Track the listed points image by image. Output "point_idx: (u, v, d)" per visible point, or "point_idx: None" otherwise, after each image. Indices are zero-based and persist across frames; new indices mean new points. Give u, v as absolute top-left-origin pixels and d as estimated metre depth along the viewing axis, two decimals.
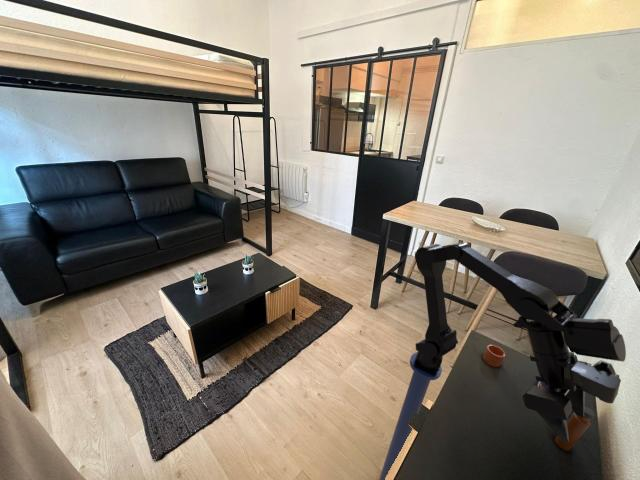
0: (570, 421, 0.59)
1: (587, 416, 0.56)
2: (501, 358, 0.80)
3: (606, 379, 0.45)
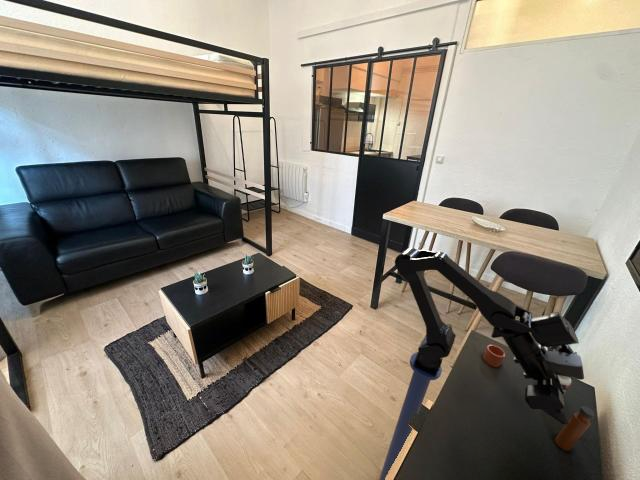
0: (570, 421, 0.59)
1: (587, 416, 0.56)
2: (501, 358, 0.80)
3: (572, 359, 0.56)
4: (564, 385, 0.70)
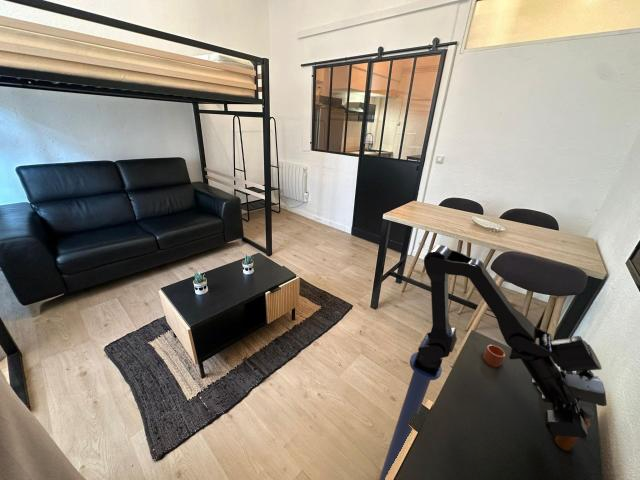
0: None
1: (587, 416, 0.56)
2: (501, 358, 0.80)
3: (594, 385, 0.55)
4: None
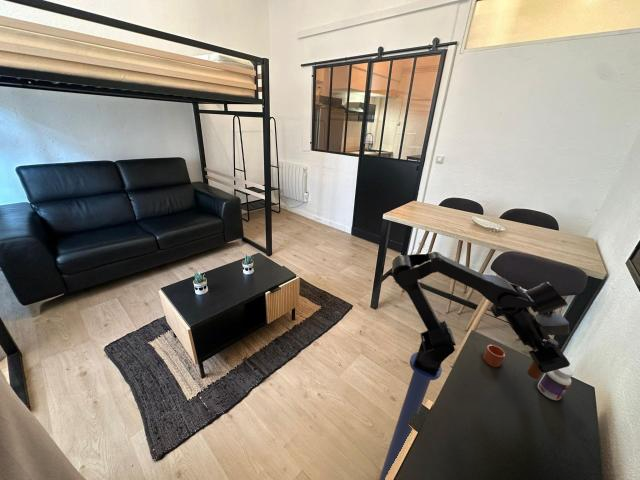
0: None
1: None
2: (501, 358, 0.80)
3: (558, 319, 0.64)
4: (564, 385, 0.70)
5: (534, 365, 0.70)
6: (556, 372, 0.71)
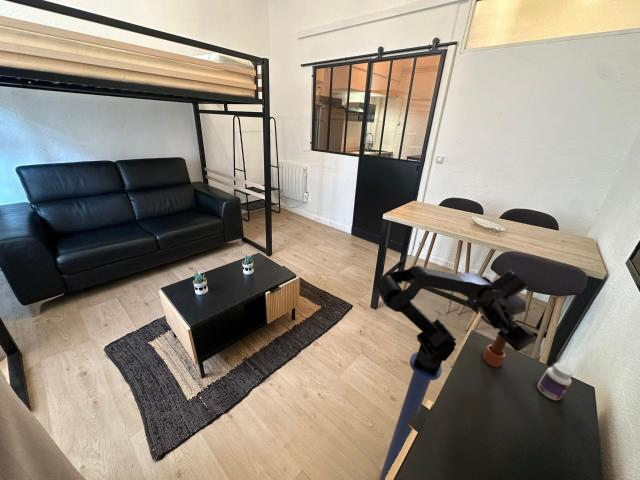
0: None
1: None
2: (501, 358, 0.80)
3: (516, 299, 0.73)
4: (564, 385, 0.70)
5: (498, 341, 0.80)
6: (556, 372, 0.71)
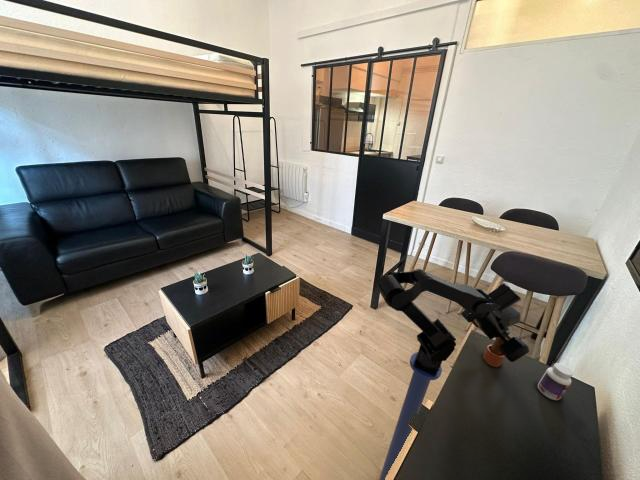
0: (497, 342, 0.80)
1: (508, 334, 0.78)
2: (501, 358, 0.80)
3: (511, 311, 0.75)
4: (564, 385, 0.70)
5: (493, 352, 0.81)
6: (556, 372, 0.71)
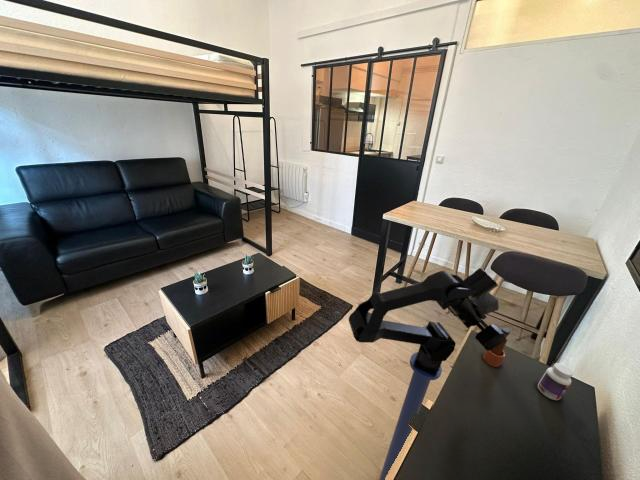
0: None
1: (508, 334, 0.78)
2: (501, 358, 0.80)
3: (489, 298, 0.71)
4: (564, 385, 0.70)
5: (493, 352, 0.81)
6: (556, 372, 0.71)
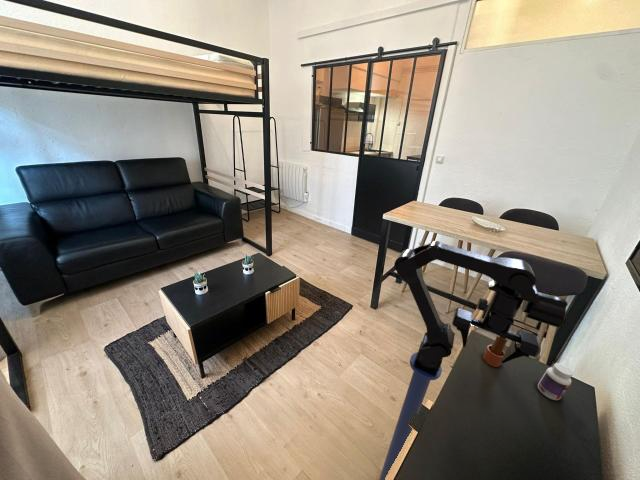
0: (497, 342, 0.80)
1: None
2: (501, 358, 0.80)
3: None
4: (564, 385, 0.70)
5: (493, 352, 0.81)
6: (556, 372, 0.71)
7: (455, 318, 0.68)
